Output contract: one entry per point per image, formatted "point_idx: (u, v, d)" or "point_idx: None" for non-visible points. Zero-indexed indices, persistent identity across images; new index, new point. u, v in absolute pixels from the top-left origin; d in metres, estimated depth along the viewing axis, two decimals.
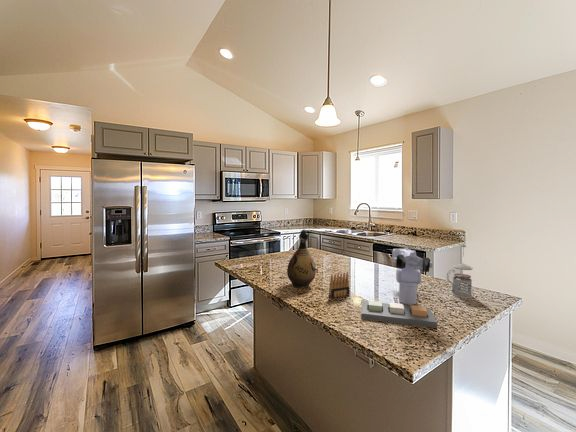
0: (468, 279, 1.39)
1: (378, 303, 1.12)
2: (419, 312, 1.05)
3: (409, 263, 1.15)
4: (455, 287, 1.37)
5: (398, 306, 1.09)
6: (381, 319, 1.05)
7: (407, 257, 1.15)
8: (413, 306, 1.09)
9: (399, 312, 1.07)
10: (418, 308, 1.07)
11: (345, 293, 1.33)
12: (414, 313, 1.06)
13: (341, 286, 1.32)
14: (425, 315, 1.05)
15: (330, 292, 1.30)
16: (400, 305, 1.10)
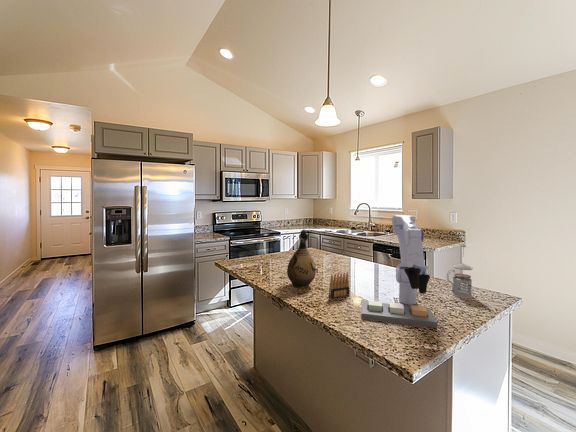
0: (468, 279, 1.39)
1: (378, 303, 1.12)
2: (419, 312, 1.05)
3: None
4: (455, 287, 1.37)
5: (398, 306, 1.09)
6: (381, 319, 1.05)
7: (419, 267, 1.07)
8: (413, 306, 1.09)
9: (399, 312, 1.07)
10: (418, 308, 1.07)
11: (345, 293, 1.33)
12: (414, 313, 1.06)
13: (341, 286, 1.32)
14: (425, 315, 1.05)
15: (330, 292, 1.30)
16: (400, 305, 1.10)
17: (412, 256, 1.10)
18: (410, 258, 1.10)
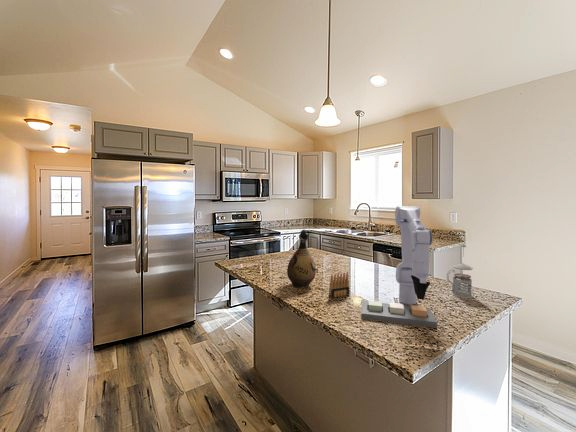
0: (468, 279, 1.39)
1: (378, 303, 1.12)
2: (419, 312, 1.05)
3: None
4: (455, 287, 1.37)
5: (398, 306, 1.09)
6: (381, 319, 1.05)
7: None
8: (413, 306, 1.09)
9: (399, 312, 1.07)
10: (418, 308, 1.07)
11: (345, 293, 1.33)
12: (414, 313, 1.06)
13: (341, 286, 1.32)
14: (425, 315, 1.05)
15: (330, 292, 1.30)
16: (400, 305, 1.10)
17: (420, 265, 1.04)
18: (418, 266, 1.05)
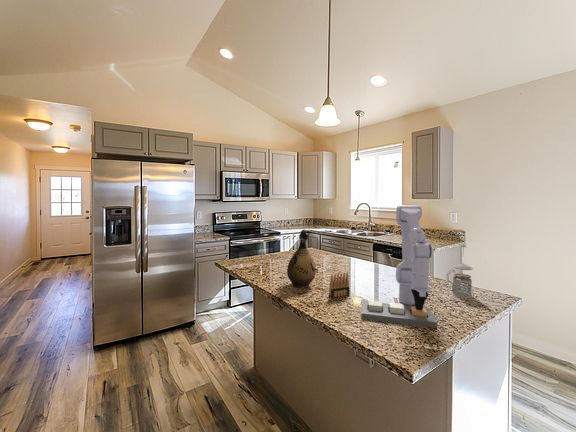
0: (468, 279, 1.39)
1: (378, 303, 1.12)
2: (419, 313, 1.05)
3: None
4: (455, 287, 1.37)
5: (398, 306, 1.09)
6: (381, 319, 1.05)
7: None
8: (413, 307, 1.09)
9: (399, 312, 1.07)
10: None
11: (345, 293, 1.33)
12: (414, 314, 1.06)
13: (341, 286, 1.32)
14: (425, 316, 1.05)
15: (330, 292, 1.30)
16: (400, 305, 1.10)
17: (420, 278, 1.04)
18: (417, 279, 1.05)
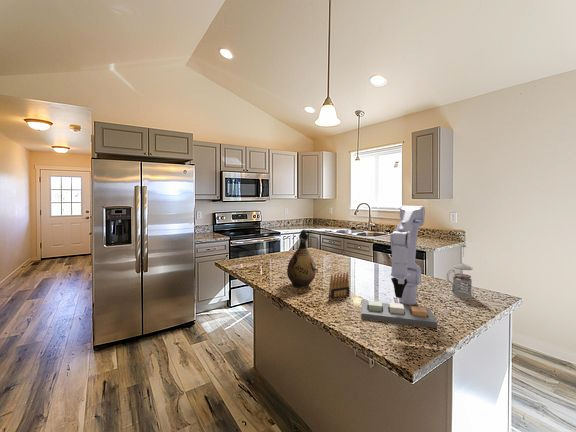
0: (468, 279, 1.39)
1: (378, 303, 1.12)
2: (419, 313, 1.05)
3: None
4: (455, 287, 1.37)
5: (398, 306, 1.09)
6: (381, 319, 1.05)
7: None
8: (413, 307, 1.09)
9: (399, 312, 1.07)
10: (418, 309, 1.07)
11: (345, 293, 1.33)
12: (414, 314, 1.06)
13: (341, 286, 1.32)
14: (425, 316, 1.05)
15: (330, 292, 1.30)
16: (400, 305, 1.10)
17: (399, 266, 1.06)
18: (396, 267, 1.07)
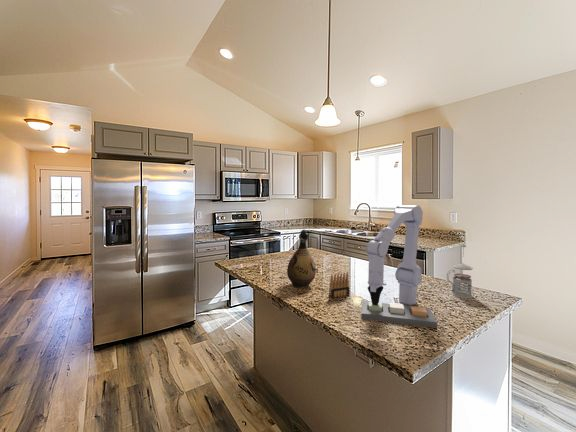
0: (468, 279, 1.39)
1: (378, 304, 1.12)
2: (419, 313, 1.05)
3: None
4: (455, 287, 1.37)
5: (398, 306, 1.09)
6: (381, 319, 1.05)
7: None
8: (413, 307, 1.09)
9: (399, 312, 1.07)
10: (418, 309, 1.07)
11: (345, 293, 1.33)
12: (414, 314, 1.06)
13: (341, 286, 1.32)
14: (425, 316, 1.05)
15: (330, 292, 1.30)
16: (400, 305, 1.10)
17: (374, 274, 1.09)
18: (371, 275, 1.10)
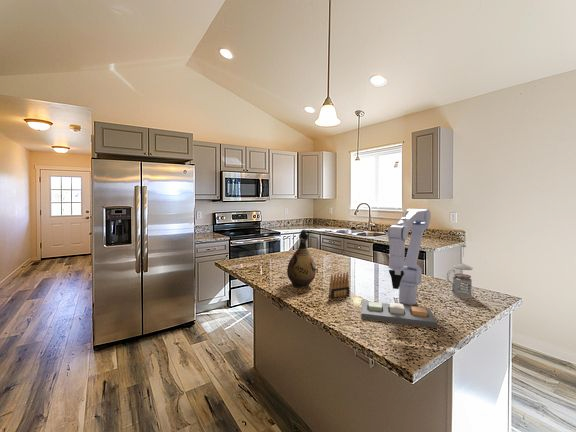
0: (468, 279, 1.39)
1: (378, 304, 1.12)
2: (419, 313, 1.05)
3: None
4: (455, 287, 1.37)
5: (398, 306, 1.09)
6: (381, 319, 1.05)
7: None
8: (413, 307, 1.09)
9: (399, 312, 1.07)
10: (418, 309, 1.07)
11: (345, 293, 1.33)
12: (414, 314, 1.06)
13: (341, 286, 1.32)
14: (425, 316, 1.05)
15: (330, 292, 1.30)
16: (400, 305, 1.10)
17: (396, 258, 1.11)
18: (394, 259, 1.12)
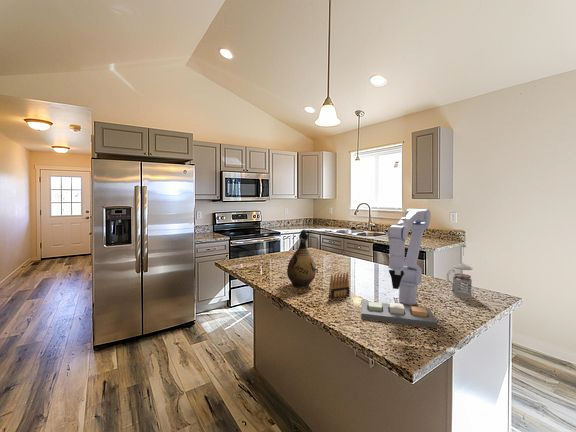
0: (468, 279, 1.39)
1: (378, 304, 1.12)
2: (419, 313, 1.05)
3: None
4: (455, 287, 1.37)
5: (398, 306, 1.09)
6: (381, 319, 1.05)
7: None
8: (413, 307, 1.09)
9: (399, 312, 1.07)
10: (418, 309, 1.07)
11: (345, 293, 1.33)
12: (414, 314, 1.06)
13: (341, 286, 1.32)
14: (425, 316, 1.05)
15: (330, 292, 1.30)
16: (400, 305, 1.10)
17: (396, 258, 1.11)
18: (394, 259, 1.12)
